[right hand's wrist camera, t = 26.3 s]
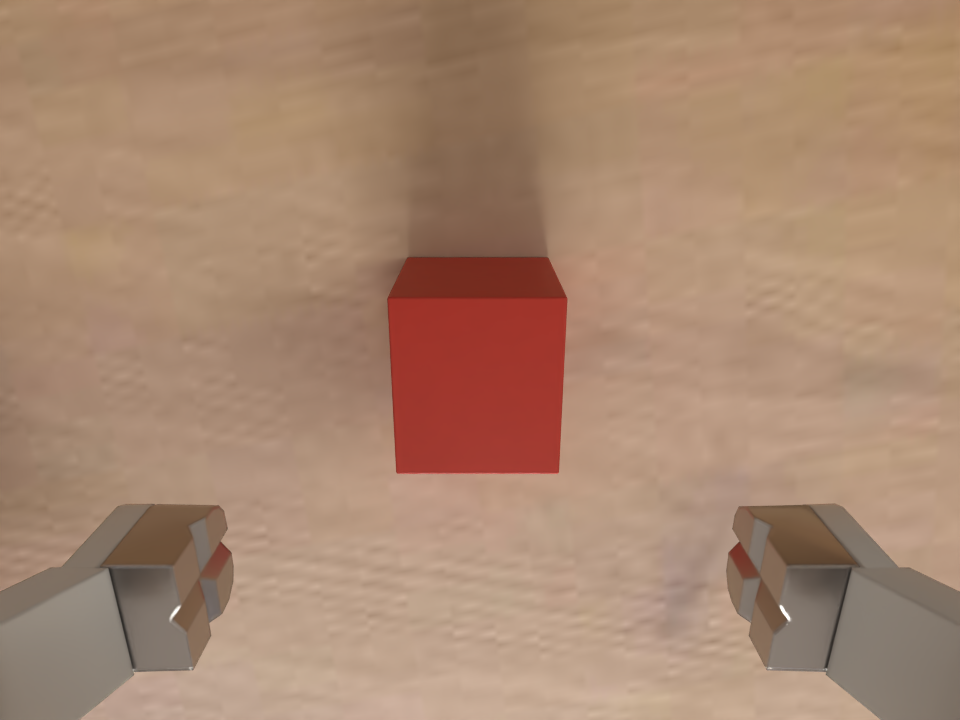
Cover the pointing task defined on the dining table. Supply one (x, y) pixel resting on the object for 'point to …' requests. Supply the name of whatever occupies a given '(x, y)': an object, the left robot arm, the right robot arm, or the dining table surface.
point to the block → (477, 365)
